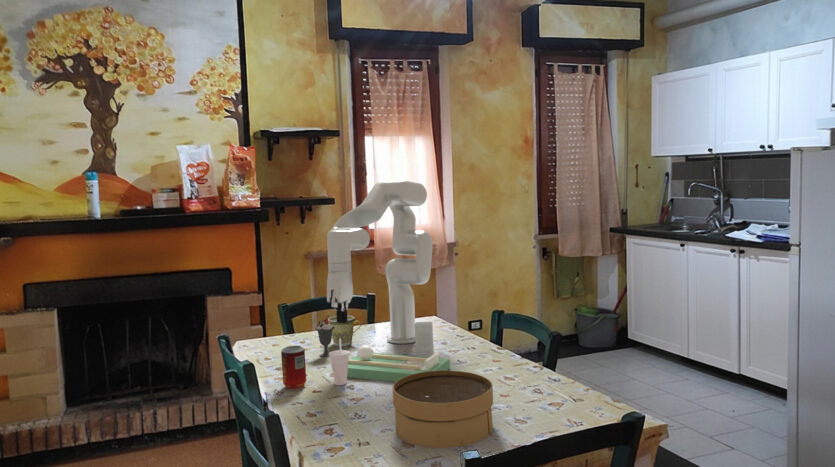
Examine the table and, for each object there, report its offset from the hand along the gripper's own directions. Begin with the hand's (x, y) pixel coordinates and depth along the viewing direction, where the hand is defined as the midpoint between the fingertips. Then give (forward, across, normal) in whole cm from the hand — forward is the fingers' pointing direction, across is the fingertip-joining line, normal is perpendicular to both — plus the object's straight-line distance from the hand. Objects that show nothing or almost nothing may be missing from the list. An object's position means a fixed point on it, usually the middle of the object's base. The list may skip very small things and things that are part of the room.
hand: (342, 322), depth 213 cm
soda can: (+16, +21, -5) cm, 27 cm away
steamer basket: (+16, +37, +50) cm, 65 cm away
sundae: (+15, -12, -14) cm, 24 cm away
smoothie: (+16, +14, +7) cm, 23 cm away
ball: (+10, -1, +8) cm, 13 cm away
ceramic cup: (+15, -28, -15) cm, 35 cm away
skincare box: (+15, -20, +21) cm, 33 cm away
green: (+15, -1, +18) cm, 24 cm away
